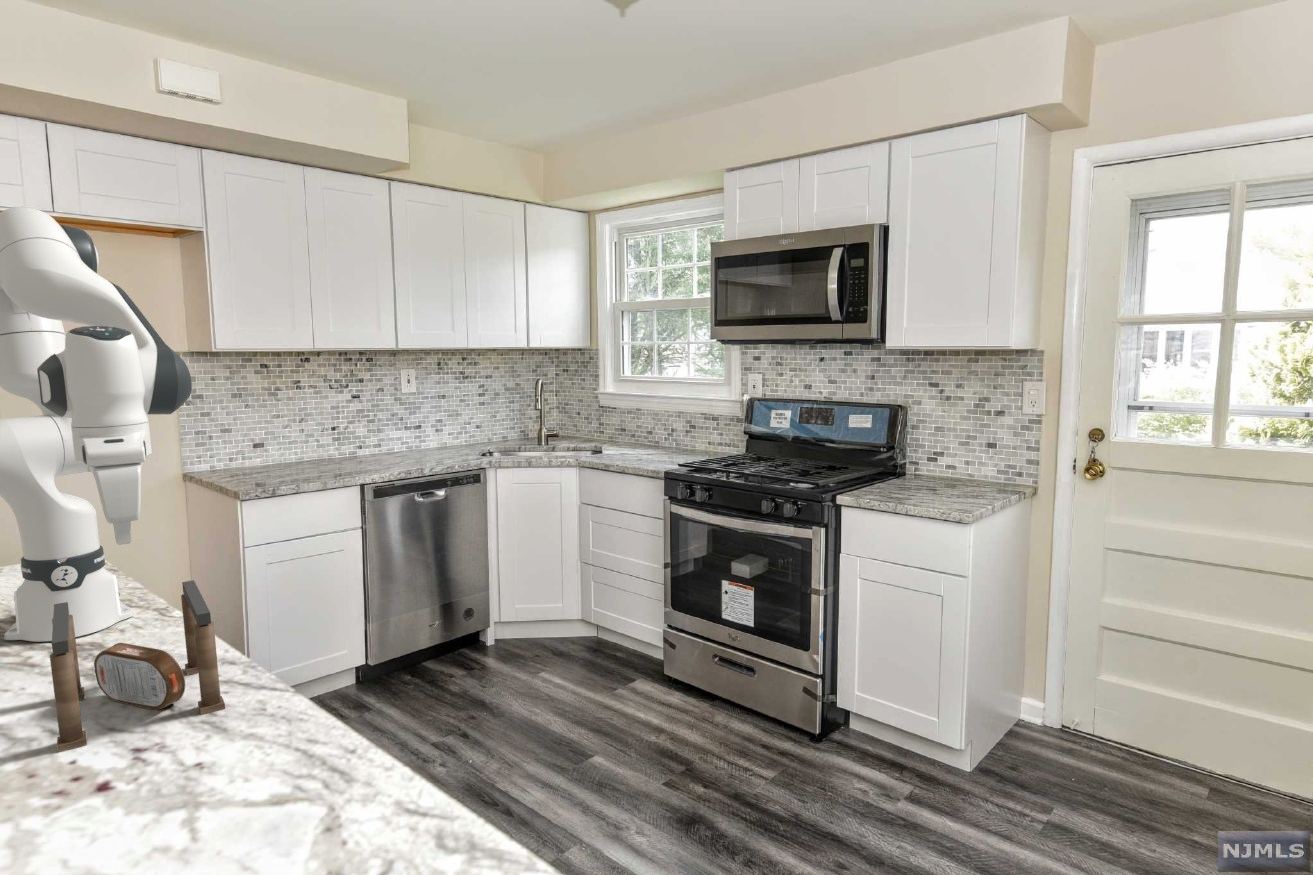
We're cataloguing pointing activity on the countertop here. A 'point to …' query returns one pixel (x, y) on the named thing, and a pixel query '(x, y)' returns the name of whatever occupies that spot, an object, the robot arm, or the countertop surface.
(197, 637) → the wooden stanchion pair
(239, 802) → the countertop surface
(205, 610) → the dark grey beam
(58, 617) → the grey bar
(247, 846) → the countertop surface
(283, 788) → the countertop surface
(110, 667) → the tin
